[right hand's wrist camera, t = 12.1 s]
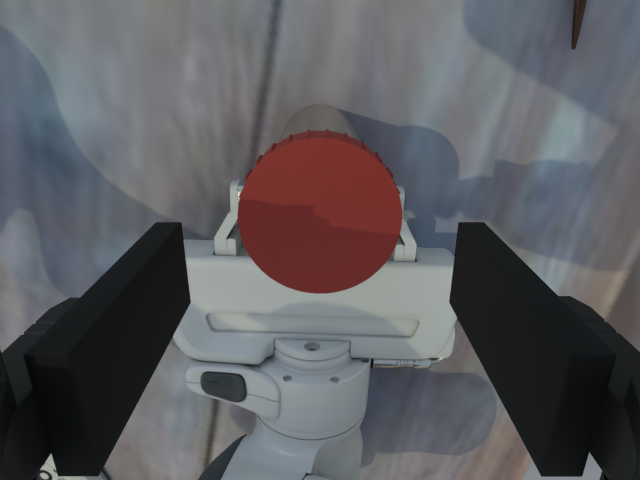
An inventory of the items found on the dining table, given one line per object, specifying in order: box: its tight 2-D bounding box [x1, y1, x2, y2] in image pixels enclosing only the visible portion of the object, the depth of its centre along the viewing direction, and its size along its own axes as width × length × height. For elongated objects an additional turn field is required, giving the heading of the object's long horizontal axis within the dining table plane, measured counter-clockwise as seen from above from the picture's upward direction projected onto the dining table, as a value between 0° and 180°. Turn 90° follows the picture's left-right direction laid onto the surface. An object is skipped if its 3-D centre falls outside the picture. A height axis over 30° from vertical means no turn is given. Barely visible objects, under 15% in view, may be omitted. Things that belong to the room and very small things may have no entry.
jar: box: [278, 105, 361, 143], centre depth 26 cm, size 6×6×17 cm
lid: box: [237, 129, 403, 294], centre depth 19 cm, size 7×7×2 cm
